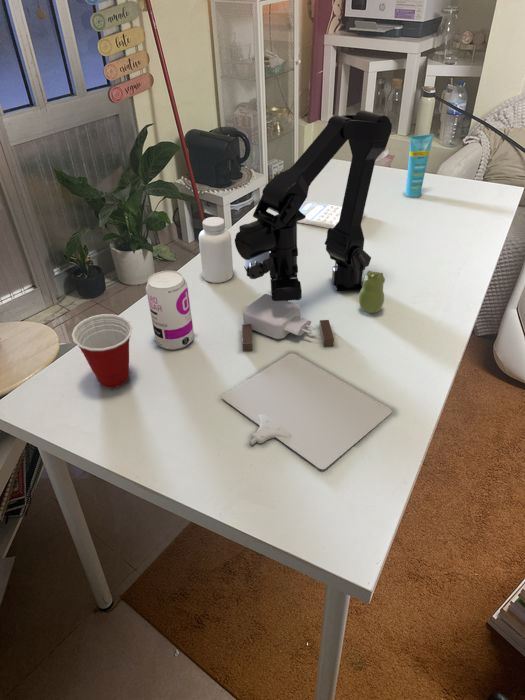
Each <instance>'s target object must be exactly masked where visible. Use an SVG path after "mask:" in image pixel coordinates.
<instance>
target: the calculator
mask: <svg viewBox="0 0 525 700" xmlns="http://www.w3.org/2000/svg"><path fill="white" fill-rule="evenodd" d="M341 210H342V206H338V205H333V204H327V203H320V202H316V201H315V202H314V201H304V203H303V204H302V206H301V207H300V209H299V211H300V212H301V213H302V214H304V215H305V216H306V217H305V218H304V219H302V220H300V221H297V223H299V224H304V225H310V226H316V227H321V228H326V229H329V228H333V227H334V226H335V225H336V224H337V223H338V222H339V219H340V214H341ZM364 216H365V212H364V213H363V217H362V219H363V218H364Z"/></svg>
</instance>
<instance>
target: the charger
mask: <svg viewBox="0 0 525 700" xmlns="http://www.w3.org/2000/svg"><path fill="white" fill-rule="evenodd" d="M242 323H243V324H242V325H246V324H251V331H255V332H257V333H260V334H262V335H265V336H267V337H270V338H272V339H275V340H280V339H284V338H285V337H286V336H287V335H289V334H290V333H291V334H292V335H295V336H297V337H298V336H302V335H303V334H304V333H306V334H310V335H311V334H312V331H311V330H314V331H315V330H316V327H314V326H311V324H312V321H311V319H306V318H304V317H302V308H301V306H300V304H297V303H294V302H290V301H289V300H288V301H273V300H272V296H271V294H268V293H264V294H263V295H261V296H260V297H258V298H257V299H256V300H254V301H253V302H251V303H250V304H249V305H248V306H247V307H246V308H244V310H243V312H242ZM308 329H311V330H308Z"/></svg>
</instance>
